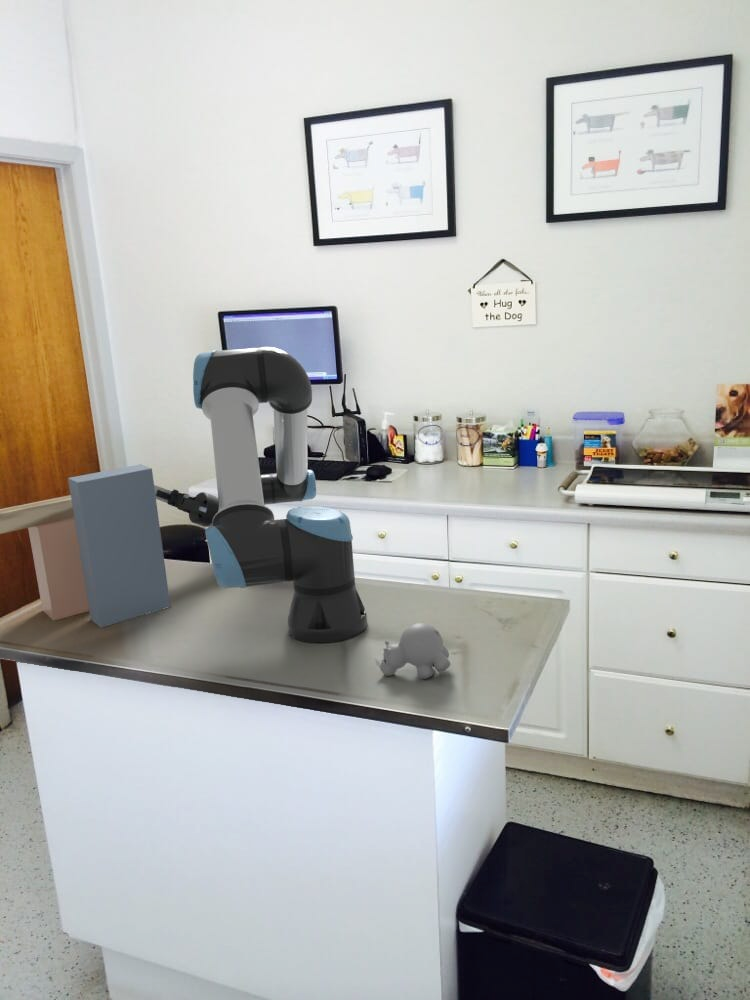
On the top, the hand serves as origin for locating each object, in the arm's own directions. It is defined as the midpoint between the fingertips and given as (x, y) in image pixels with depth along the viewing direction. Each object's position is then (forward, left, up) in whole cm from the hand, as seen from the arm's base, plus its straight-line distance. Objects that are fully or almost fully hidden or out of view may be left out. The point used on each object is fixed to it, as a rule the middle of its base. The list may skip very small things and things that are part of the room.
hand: (129, 482), depth 187 cm
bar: (0, +16, -5) cm, 17 cm away
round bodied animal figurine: (-75, -17, -25) cm, 81 cm away
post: (-12, +8, -25) cm, 29 cm away
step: (0, +16, -25) cm, 30 cm away
